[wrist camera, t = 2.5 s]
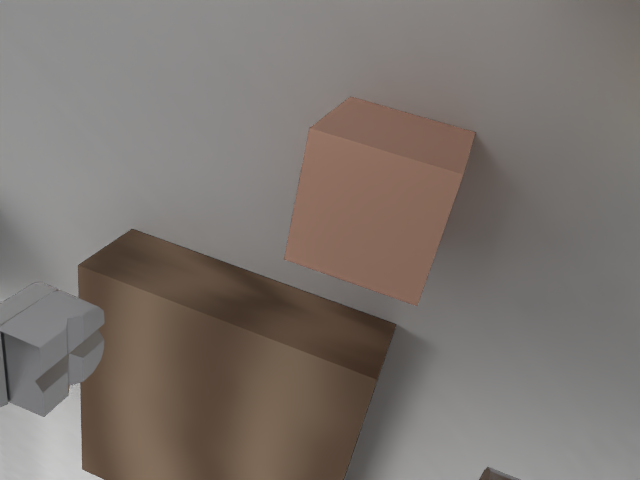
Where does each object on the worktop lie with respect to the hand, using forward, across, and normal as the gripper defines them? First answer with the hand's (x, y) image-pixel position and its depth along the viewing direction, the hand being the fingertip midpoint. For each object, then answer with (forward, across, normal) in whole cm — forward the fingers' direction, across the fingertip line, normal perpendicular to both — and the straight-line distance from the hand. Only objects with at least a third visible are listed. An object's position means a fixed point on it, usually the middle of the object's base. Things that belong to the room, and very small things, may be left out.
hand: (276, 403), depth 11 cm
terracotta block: (+14, +1, 0) cm, 14 cm away
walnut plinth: (+14, +6, +14) cm, 20 cm away
